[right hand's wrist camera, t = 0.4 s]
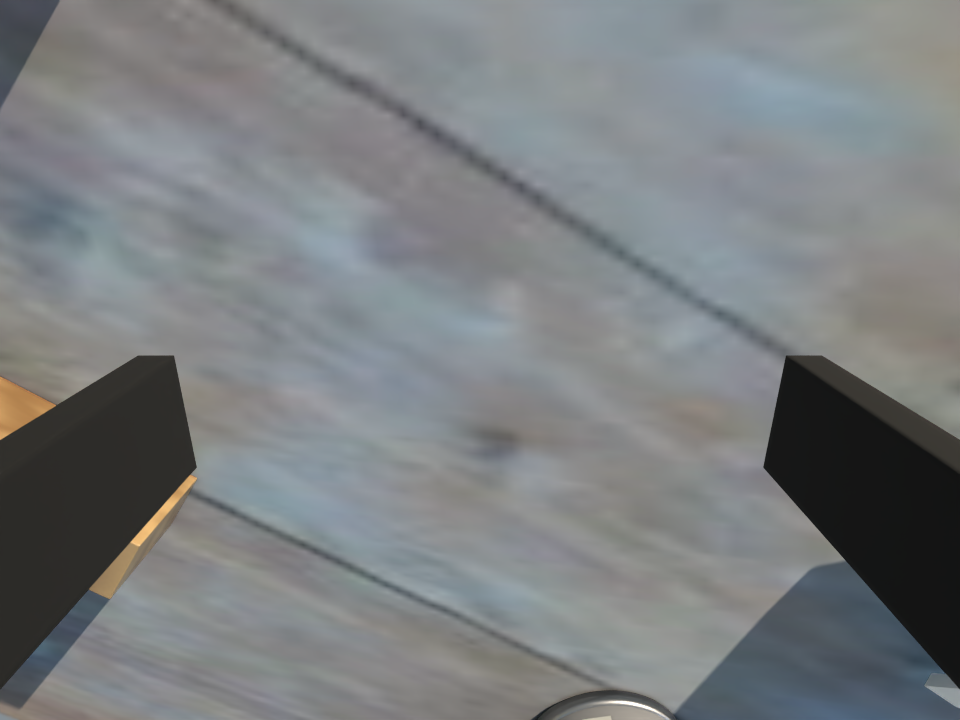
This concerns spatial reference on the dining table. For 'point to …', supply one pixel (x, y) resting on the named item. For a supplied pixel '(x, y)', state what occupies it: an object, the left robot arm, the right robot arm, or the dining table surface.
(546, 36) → the dining table surface
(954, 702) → the white plastic object
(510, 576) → the dining table surface
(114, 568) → the bar
